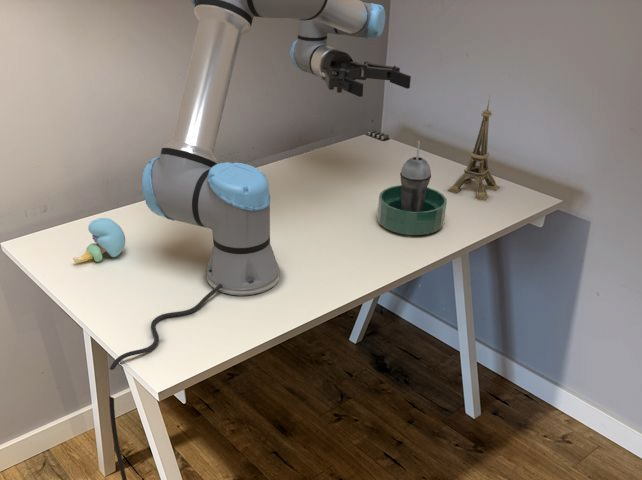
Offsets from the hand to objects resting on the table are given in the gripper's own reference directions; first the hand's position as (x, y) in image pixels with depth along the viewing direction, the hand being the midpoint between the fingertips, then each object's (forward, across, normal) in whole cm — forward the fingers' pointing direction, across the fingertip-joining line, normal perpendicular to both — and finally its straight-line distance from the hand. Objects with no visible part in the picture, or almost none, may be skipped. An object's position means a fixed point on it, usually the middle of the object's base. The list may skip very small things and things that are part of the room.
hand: (385, 86), depth 153 cm
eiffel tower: (+3, -31, -30) cm, 44 cm away
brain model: (-11, +67, -31) cm, 75 cm away
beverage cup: (+10, -3, -30) cm, 32 cm away
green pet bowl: (+10, -3, -30) cm, 32 cm away
